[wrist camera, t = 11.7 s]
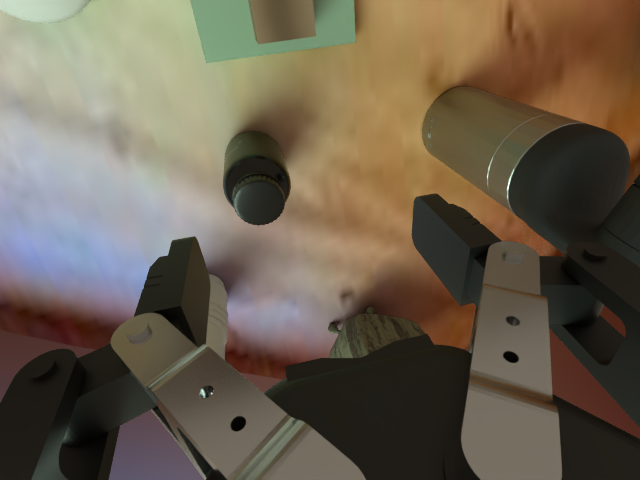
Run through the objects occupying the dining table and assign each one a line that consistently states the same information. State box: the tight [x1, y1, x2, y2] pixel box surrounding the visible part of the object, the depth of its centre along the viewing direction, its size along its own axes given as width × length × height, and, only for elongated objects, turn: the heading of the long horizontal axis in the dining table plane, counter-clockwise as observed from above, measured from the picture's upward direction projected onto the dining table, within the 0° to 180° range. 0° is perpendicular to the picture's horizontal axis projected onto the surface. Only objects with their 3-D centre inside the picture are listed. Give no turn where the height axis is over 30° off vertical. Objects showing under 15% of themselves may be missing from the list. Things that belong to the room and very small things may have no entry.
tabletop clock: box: [328, 306, 425, 358], centre depth 51 cm, size 14×9×25 cm, turn 70°
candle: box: [206, 274, 228, 360], centre depth 45 cm, size 7×7×15 cm
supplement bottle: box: [223, 131, 291, 225], centre depth 38 cm, size 7×7×12 cm
